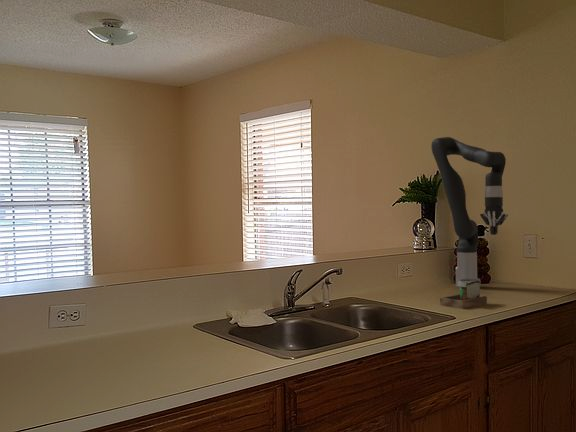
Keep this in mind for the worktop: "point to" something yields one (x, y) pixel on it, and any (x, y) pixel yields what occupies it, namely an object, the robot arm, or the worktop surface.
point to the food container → (469, 288)
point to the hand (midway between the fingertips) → (493, 234)
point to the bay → (457, 303)
